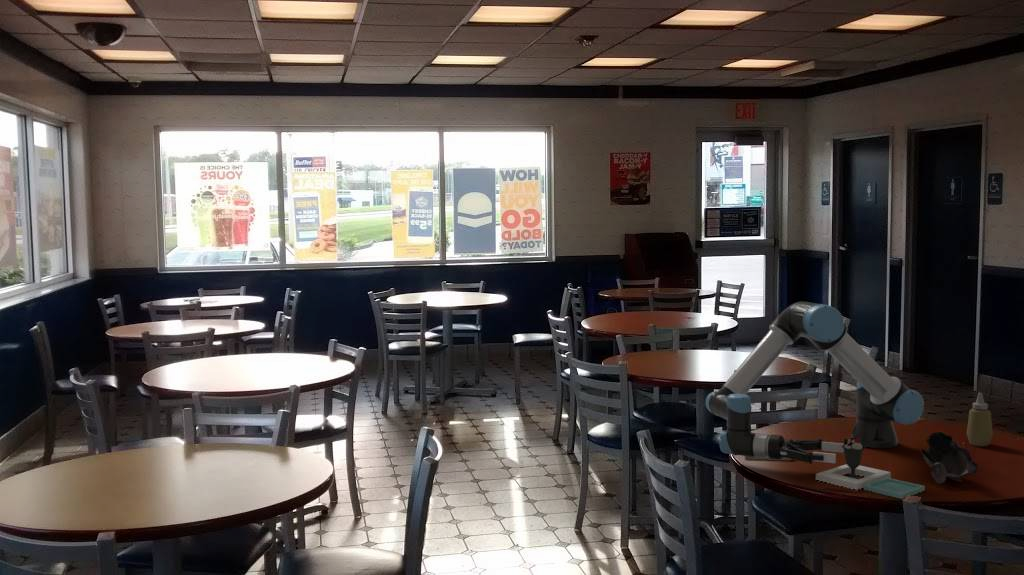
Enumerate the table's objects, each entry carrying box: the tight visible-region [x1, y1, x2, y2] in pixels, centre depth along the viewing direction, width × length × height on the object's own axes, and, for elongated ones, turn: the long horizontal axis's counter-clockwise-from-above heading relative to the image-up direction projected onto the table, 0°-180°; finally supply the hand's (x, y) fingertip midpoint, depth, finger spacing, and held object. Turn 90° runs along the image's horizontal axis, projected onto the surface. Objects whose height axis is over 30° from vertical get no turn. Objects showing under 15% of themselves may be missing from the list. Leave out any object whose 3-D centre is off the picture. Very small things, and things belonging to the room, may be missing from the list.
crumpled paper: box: [921, 431, 979, 484], centre depth 286 cm, size 14×15×20 cm
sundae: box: [842, 432, 866, 479], centre depth 287 cm, size 7×7×15 cm
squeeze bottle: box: [966, 392, 994, 447], centre depth 324 cm, size 8×8×18 cm
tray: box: [863, 477, 926, 500], centre depth 276 cm, size 12×12×1 cm
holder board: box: [815, 463, 892, 491], centre depth 287 cm, size 18×14×2 cm
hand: (839, 453), depth 288 cm, fingers open, 13 cm apart
